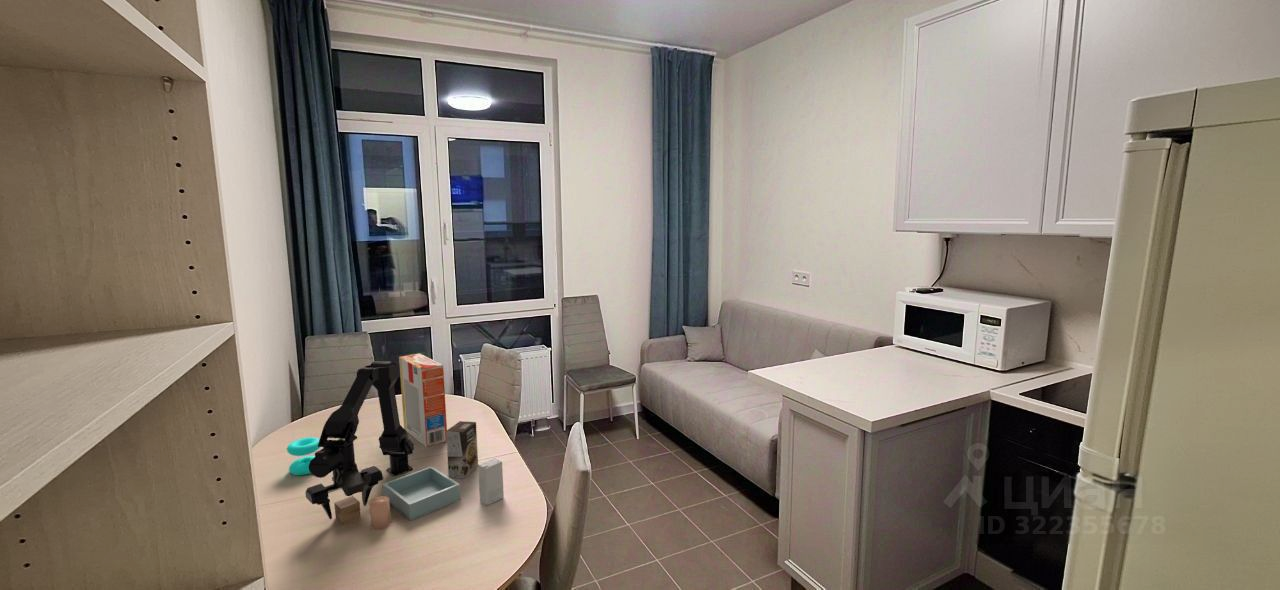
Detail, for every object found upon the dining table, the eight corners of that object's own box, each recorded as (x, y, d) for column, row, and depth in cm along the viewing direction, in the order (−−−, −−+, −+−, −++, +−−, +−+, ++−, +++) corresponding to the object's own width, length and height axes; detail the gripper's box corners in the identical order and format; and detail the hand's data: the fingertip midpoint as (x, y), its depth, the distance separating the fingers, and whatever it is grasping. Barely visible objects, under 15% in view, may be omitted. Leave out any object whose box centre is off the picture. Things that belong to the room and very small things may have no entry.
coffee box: (465, 478, 178) (463, 432, 176) (447, 477, 180) (445, 430, 177) (479, 466, 187) (476, 421, 185) (462, 464, 189) (459, 420, 186)
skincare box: (495, 493, 169) (494, 456, 167) (504, 498, 166) (503, 461, 164) (478, 501, 164) (476, 463, 163) (487, 506, 162) (485, 468, 160)
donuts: (282, 442, 183) (315, 433, 190) (285, 470, 185) (318, 460, 192) (291, 451, 176) (325, 441, 184) (294, 479, 178) (327, 469, 185)
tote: (383, 499, 166) (382, 484, 165) (432, 480, 177) (431, 466, 176) (410, 521, 154) (409, 504, 153) (460, 499, 166) (459, 484, 165)
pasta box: (447, 440, 208) (443, 364, 204) (426, 447, 203) (421, 369, 198) (424, 423, 225) (419, 353, 220) (404, 429, 219) (399, 356, 215)
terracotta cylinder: (368, 524, 153) (366, 501, 151) (386, 517, 156) (384, 494, 155) (375, 531, 149) (373, 507, 148) (393, 523, 153) (392, 500, 152)
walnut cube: (335, 518, 156) (334, 502, 155) (354, 511, 159) (352, 495, 158) (342, 525, 152) (340, 508, 151) (360, 518, 156) (359, 501, 155)
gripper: (316, 482, 141) (322, 537, 143) (389, 458, 155) (393, 509, 157) (302, 468, 148) (307, 521, 151) (372, 446, 162) (376, 495, 164)
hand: (347, 511), depth 155 cm, fingers open, 9 cm apart
